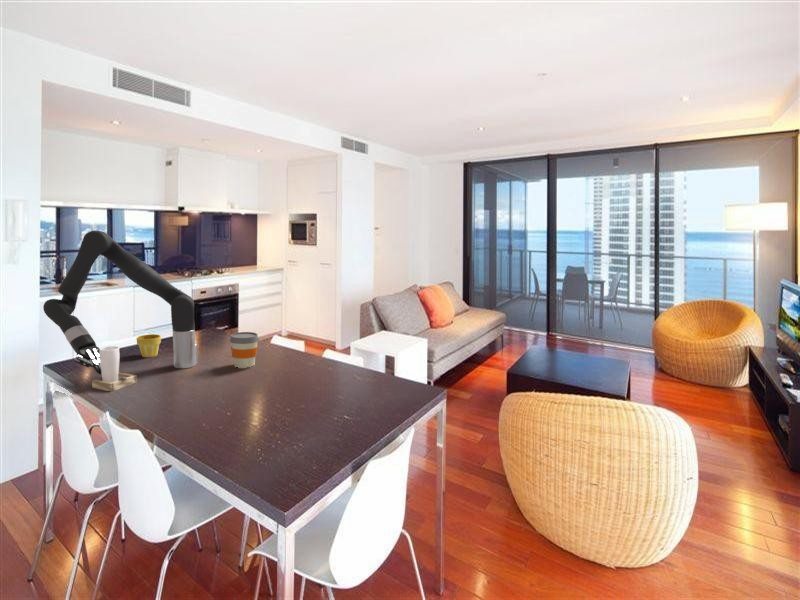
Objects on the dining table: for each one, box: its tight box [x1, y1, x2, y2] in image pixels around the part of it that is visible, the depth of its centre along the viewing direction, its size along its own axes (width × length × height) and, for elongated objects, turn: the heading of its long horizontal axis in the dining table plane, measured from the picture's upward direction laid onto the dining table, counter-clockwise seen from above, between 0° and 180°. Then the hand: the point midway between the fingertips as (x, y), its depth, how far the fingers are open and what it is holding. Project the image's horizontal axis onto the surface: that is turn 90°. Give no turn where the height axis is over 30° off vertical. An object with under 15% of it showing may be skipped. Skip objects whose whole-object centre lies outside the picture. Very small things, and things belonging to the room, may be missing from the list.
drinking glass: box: [99, 345, 121, 383], centre depth 174 cm, size 7×7×15 cm
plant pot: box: [136, 333, 162, 358], centre depth 214 cm, size 10×10×10 cm
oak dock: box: [91, 371, 138, 392], centre depth 174 cm, size 11×10×4 cm
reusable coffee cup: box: [229, 331, 259, 369], centre depth 205 cm, size 12×13×15 cm
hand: (102, 372), depth 175 cm, fingers closed
